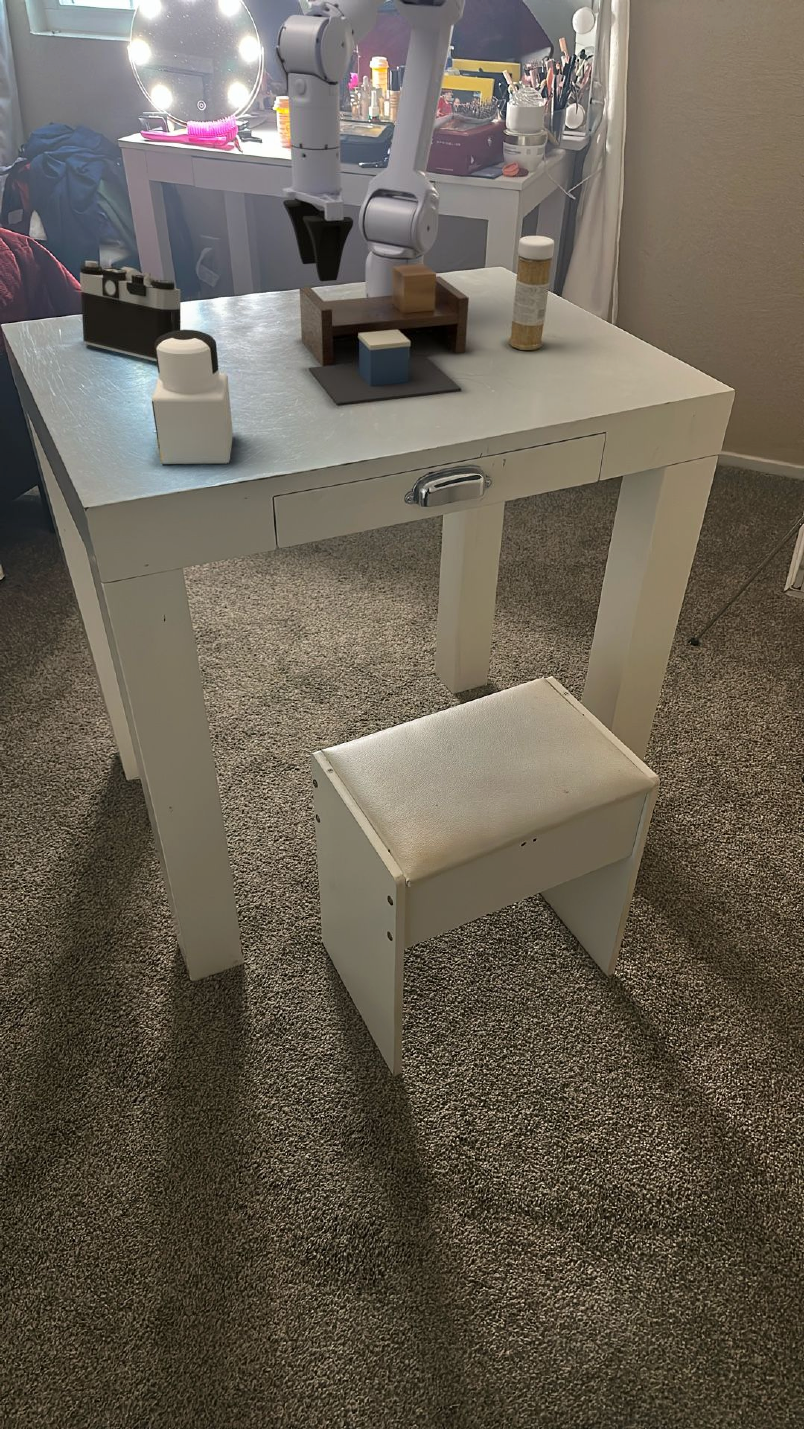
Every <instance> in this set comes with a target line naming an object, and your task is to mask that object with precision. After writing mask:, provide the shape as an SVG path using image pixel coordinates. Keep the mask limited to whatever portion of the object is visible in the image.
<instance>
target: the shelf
mask: <svg viewBox="0 0 804 1429" xmlns="http://www.w3.org/2000/svg"><path fill="white" fill-rule="evenodd" d="M469 300H470V298H469V296H467V295H466V294H465V293H463V292H462V291H460V290H459V289H458V288H456V286H454V285H452V284H451V283H449V282H448V281H447V280H445V279H444V278H443V277H441V276H436V289H435V309H434V311H423V312H412V313H403V312H402V311H400V310H399V309H398V308H397V307H396V306H395V305H394V304H392V296H381V297H369V298H365V297H359V298H345V299H334V300H333V299H332V300H323V299H322V298H321V297H320V296H319V294H317V293H316V292H315V291H314V290H313V288H312V287H310V286H299V310H300V330H301V331H300V332H301V343H303V345H304V346H305V348H306V349H307V350H308V351H309V352H310V354H312V355H313V357H314V358H315V359H316V360H317V361H318V363H319V364H320V366H330V365H334V342H333V341H341V340H352V339H359V338H358V333H365V332H376V331H387V330H399V331H400V332H401V333H402V334H403V335H405V334H415V333H423V332H431V333H432V334H433V335H434V336H435V337H437V338H438V339H439V340H440V341H441V342H443V344H445V345H446V346H447V347H448V348H450V349H451V350H452V351H453V352H454V353H456V354H459V353H465V352H466V343H467V330H468V316H469V314H468V312H469Z"/></svg>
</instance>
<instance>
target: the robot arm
mask: <svg viewBox="0 0 804 1429" xmlns="http://www.w3.org/2000/svg"><path fill="white" fill-rule="evenodd" d="M387 1H388V0H314V1H313V2H312V3H311V4H310V8H309V9H308V10H307V11H306V12H305V13H304V14H300V15H299V14H292V15H290V16H288V18H287V19H286V20H285V21H284V22H283V23H282V24H281V25H280V28H279V30H278V33H277V37H276V46H275V47H274V56H275V60H276V64H277V67H278V69H279V71H280V73H281V77H282V86H283V87H282V88H283V91H284V94H285V96H286V97H287V98H288V114H289V136H290V137H289V138H290V158H291V159H290V160H291V182H292V184H291V186H290V187H283V188H282V195H283V196H284V197H285V198H288V199H286V200H283V206H284V208H285V210H286V213H287V214H288V217H289V219H290V222H291V225H292V228H293V231H294V235H295V239H296V240H295V241H296V245H297V248H298V253H299V257H300V261H301V264H303V265H313V264H314V265H315V268H316V273H317V276H318V280H319V281H320V282H331V281H337V280H338V276H339V272H340V266H341V262H342V256H343V252H344V248H345V245H346V242H347V239H348V236H349V234H350V232H351V230H352V229H353V227H354V219H353V218H352V217H351V216H344V201H343V195H344V194H343V193H344V192H343V188H342V176H341V175H342V173H341V171H342V170H341V105H340V104H341V102H340V100H341V98H340V95H341V94H340V81H341V80H343V79H345V77H346V75H347V73H348V71H349V67H350V62H351V58H352V56H353V55H354V51H355V50H356V47H357V46H358V45H359V44H360V43H361V42H362V41H363V39H365V38H366V37H367V35H369V34H370V32H371V31H373V29H374V27H375V26H376V23H377V20H378V9H379V8H380V7H381V6H382V5H384V4H385V3H386V2H387ZM392 1H393V4H394V5H395V8H396V10H397V11H398V14H399V15H400V16H401V17H402V18H404V19H405V20H407V21H408V22H409V25H410V29H411V31H410V32H411V33H410V39H409V44H408V49H407V54H406V55H407V56H406V60H405V66H404V72H403V77H402V84H401V90H400V94H399V101H398V105H397V106H398V107H397V113H396V118H395V124H394V129H393V134H392V140H391V145H390V151H389V156H388V157H389V158H388V162H387V167H386V168H385V169H383V170H382V171H381V172H379V173H378V174H377V175H375V176H374V177H373V178H372V179H370V180H369V181H368V182H369V183H368V188H367V192H366V195H365V198H364V200H363V202H362V204H361V207H360V209H359V214H358V229H359V233H360V235H361V237H362V239H363V241H364V242H365V243H367V251H369V253H368V255H367V256H366V260H365V280H364V281H365V286H364V288H365V291H364V292H365V296H364V298H369V297H381V296H392V282H393V267H394V266H408V265H421V264H424V257H425V256H424V255H425V254H427V253H428V252H429V251H430V249H431V248H432V247H433V245H434V244H435V242H436V240H437V236H438V232H439V231H438V230H439V208H440V200H441V199H440V198H441V197H440V195H439V193H438V191H437V190H436V188H435V187H434V185H433V184H432V183H431V181H429V179H428V178H427V176H426V173H427V167H428V162H429V157H430V152H431V146H432V141H433V136H434V131H435V126H436V120H437V115H438V110H439V105H440V101H441V100H440V99H441V94H442V88H443V83H444V78H445V74H446V70H447V69H446V68H447V63H448V59H449V52H450V47H451V42H452V36H453V32H454V26H455V24H457V23H458V22H459V21H460V20H461V19H462V17H463V12H464V7H465V4H466V0H392ZM400 197H401V198H400Z"/></svg>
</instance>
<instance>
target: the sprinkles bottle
mask: <svg viewBox="0 0 804 1429" xmlns="http://www.w3.org/2000/svg"><path fill="white" fill-rule="evenodd" d="M554 252H555V241H554V239H552V238H550V237H548V236H543V235H526V236H523V237H521V238H520V239H519V241H518V248H517V255H518V257H517V258H518V263H517V272H516V279H515V289H514V296H513V305H512V306H513V307H512V315H511V329H510V330H511V331H510V338H509V345H510V346H511V347H513V348H515V349H517V350H523V351H534V350H538V349H540V348H541V347H542V345H543V341H542V339H543V331H544V323H545V320H546V311H547V303H548V297H549V288H550V287H549V286H550V274H551V265H552V261H553V257H554V254H555V253H554Z"/></svg>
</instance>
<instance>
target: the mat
mask: <svg viewBox="0 0 804 1429" xmlns="http://www.w3.org/2000/svg"><path fill="white" fill-rule="evenodd" d="M308 371H309V372H310V373H311V375H312V376H313V377H314V378H315V379H316V381H317V383H319V384H320V386H321V387H322V388H323V389H324V391H325V392H326V393H327V394H328V396H329V397H330V398H331V399H332V401H333V402H334V403H335V404H336V406H343V405H351V404H352V405H353V404H360V403H367V402H368V403H369V402H377V401H386V400H392V399H401V398H411V397H419V396H428V395H429V396H430V395H435V394H436V395H437V394H445V393H455V392H461V391H462V388H461V387H460V386H459V385H458V384H457V383H456V382H455V381H453V380H452V378H451V377H450V376H449V375H447V374H446V373H445V372H444V371H443V370H442V369H441V368H439V367H438V366H437V365H436V363H434V362H433V361H432V360H431V359H430V358H429V357H428V356H427V355H418V356H416V355H415V356H409V377H408V382H404V383H396V384H387V385H378V386H370V385H369V384H368V383H367V382H366V381H365V380H364V378H363V377H362V376H361V375H360V374H359V362H349V363H342V364H333V365H330V366H322V365H320V366H311V367H308Z"/></svg>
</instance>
